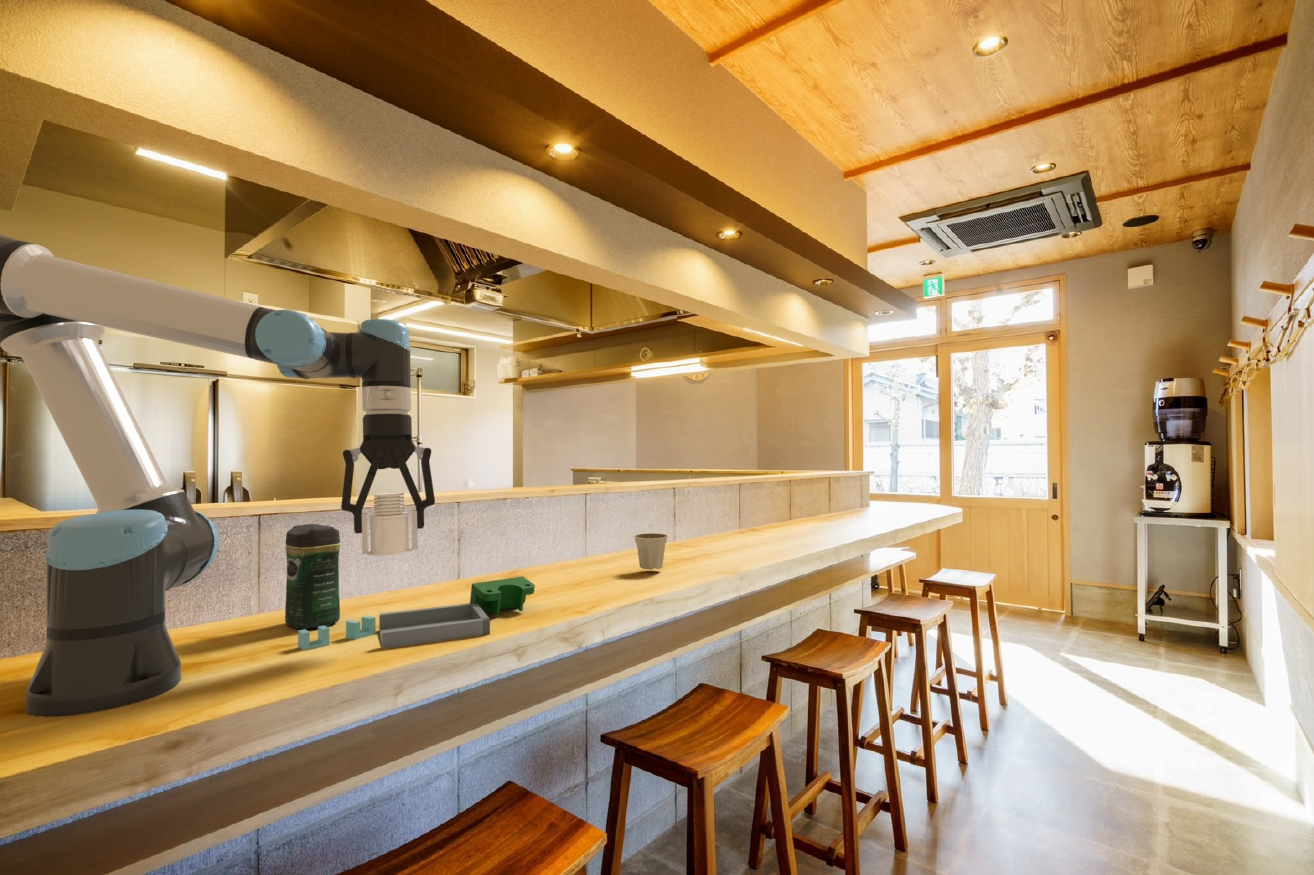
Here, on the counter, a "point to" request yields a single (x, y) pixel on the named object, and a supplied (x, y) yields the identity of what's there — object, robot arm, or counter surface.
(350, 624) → the clips
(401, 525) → the white stepped cylinder
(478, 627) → the end holder
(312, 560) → the coffee jar
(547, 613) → the counter surface
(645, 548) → the flower pot
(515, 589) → the clamp
